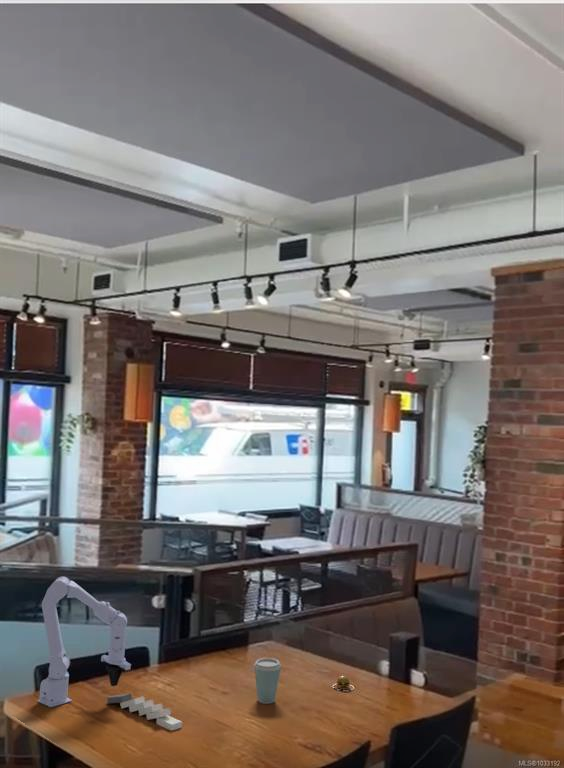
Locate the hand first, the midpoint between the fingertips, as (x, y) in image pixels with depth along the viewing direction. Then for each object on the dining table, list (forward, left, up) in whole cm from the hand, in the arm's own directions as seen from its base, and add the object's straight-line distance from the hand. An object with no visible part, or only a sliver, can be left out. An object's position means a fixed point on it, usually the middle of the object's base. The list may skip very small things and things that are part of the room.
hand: (113, 685), depth 281 cm
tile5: (0, -21, -5) cm, 22 cm away
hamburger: (+80, -49, -7) cm, 94 cm away
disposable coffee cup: (+44, -37, -6) cm, 58 cm away
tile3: (0, -12, -5) cm, 13 cm away
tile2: (0, -7, -5) cm, 9 cm away
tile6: (0, -26, -5) cm, 27 cm away
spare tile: (0, 0, -5) cm, 5 cm away
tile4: (0, -17, -5) cm, 17 cm away
